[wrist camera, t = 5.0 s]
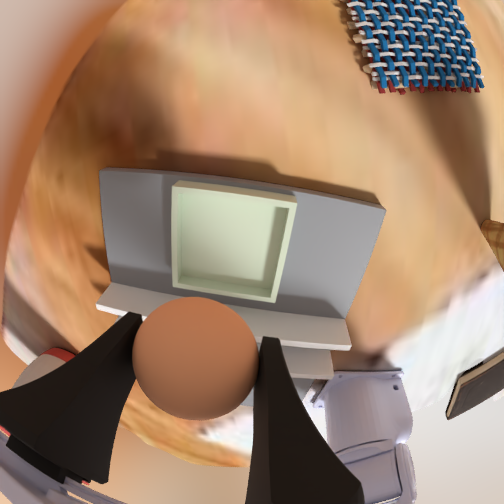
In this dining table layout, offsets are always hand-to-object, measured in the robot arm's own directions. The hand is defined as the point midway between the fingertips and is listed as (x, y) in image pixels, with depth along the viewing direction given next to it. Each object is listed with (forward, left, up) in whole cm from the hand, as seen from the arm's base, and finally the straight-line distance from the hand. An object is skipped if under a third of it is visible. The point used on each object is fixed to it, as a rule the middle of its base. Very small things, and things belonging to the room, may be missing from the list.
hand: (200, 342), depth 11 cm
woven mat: (-10, -18, -11) cm, 23 cm away
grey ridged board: (0, +9, -10) cm, 13 cm away
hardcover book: (-49, +18, -11) cm, 53 cm away
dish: (0, 0, -9) cm, 9 cm away
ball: (0, 0, +1) cm, 1 cm away
